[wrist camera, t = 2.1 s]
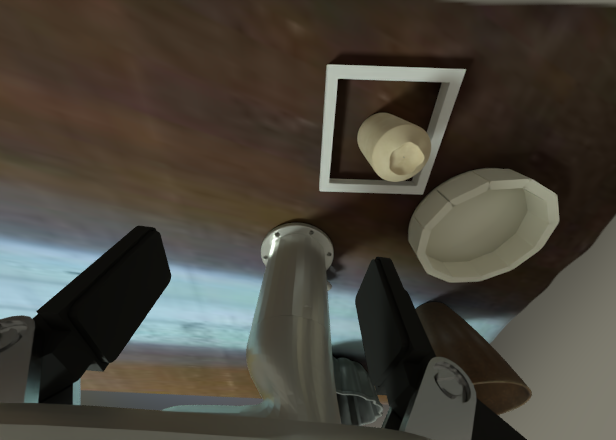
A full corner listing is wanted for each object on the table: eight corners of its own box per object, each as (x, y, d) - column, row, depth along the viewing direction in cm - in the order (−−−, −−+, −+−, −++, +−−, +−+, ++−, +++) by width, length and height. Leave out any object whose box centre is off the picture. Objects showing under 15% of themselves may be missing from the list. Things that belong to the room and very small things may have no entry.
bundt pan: (343, 395, 72) (347, 436, 64) (268, 378, 66) (262, 421, 58) (393, 360, 59) (407, 406, 51) (305, 335, 54) (304, 382, 45)
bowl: (537, 235, 36) (562, 252, 32) (428, 277, 42) (439, 295, 38) (522, 141, 28) (553, 150, 25) (390, 208, 34) (399, 224, 30)
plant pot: (449, 278, 42) (514, 372, 28) (478, 313, 48) (544, 406, 34) (382, 310, 48) (410, 401, 34) (415, 338, 53) (450, 426, 40)
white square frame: (456, 69, 24) (466, 69, 23) (417, 189, 32) (422, 194, 31) (326, 65, 24) (327, 64, 23) (319, 185, 32) (319, 191, 30)
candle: (359, 112, 27) (381, 127, 18) (405, 111, 27) (447, 126, 18) (354, 157, 30) (371, 187, 21) (395, 157, 30) (428, 188, 21)
